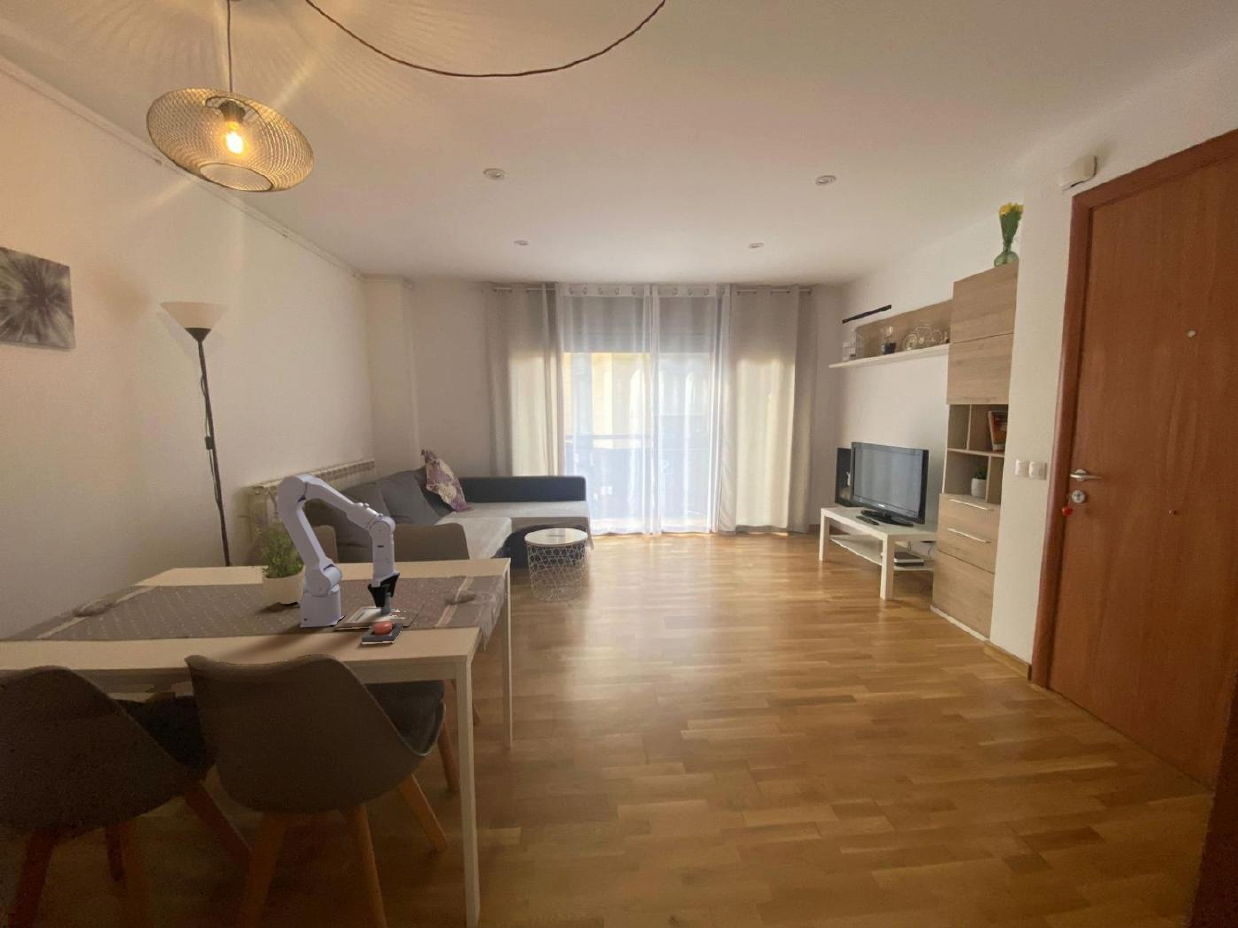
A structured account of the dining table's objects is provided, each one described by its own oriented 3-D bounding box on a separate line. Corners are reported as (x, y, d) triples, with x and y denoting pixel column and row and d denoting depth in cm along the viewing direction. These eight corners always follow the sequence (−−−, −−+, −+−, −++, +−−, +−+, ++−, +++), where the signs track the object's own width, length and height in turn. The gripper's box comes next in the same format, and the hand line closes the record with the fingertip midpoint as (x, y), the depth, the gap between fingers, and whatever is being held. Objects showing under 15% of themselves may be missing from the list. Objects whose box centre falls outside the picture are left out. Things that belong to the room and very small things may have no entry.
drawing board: (334, 630, 129) (334, 626, 129) (357, 608, 145) (357, 604, 145) (409, 626, 132) (409, 622, 132) (424, 604, 148) (424, 601, 148)
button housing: (361, 644, 121) (361, 637, 121) (373, 631, 129) (373, 624, 128) (394, 643, 122) (393, 635, 122) (403, 629, 130) (403, 622, 130)
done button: (371, 635, 123) (371, 628, 122) (377, 628, 127) (377, 621, 127) (388, 634, 123) (388, 627, 123) (394, 627, 128) (394, 620, 127)
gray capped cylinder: (378, 615, 137) (377, 595, 136) (382, 611, 140) (381, 591, 139) (389, 614, 137) (388, 595, 136) (392, 610, 140) (392, 591, 139)
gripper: (389, 564, 130) (390, 610, 131) (405, 550, 145) (406, 592, 146) (363, 565, 129) (364, 612, 130) (381, 551, 144) (382, 593, 145)
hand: (384, 602), depth 138 cm, fingers open, 7 cm apart
